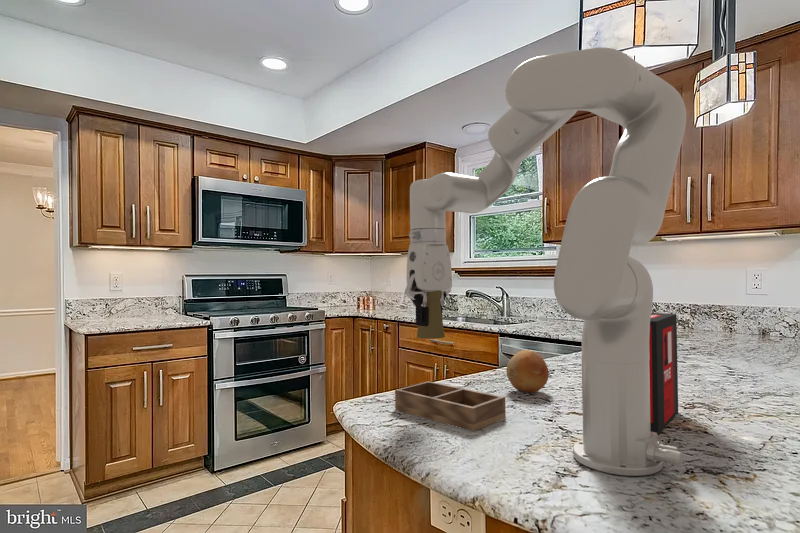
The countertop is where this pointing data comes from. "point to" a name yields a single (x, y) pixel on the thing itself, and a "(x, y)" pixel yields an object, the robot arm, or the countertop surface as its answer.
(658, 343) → the cleaning product box
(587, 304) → the robot arm
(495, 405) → the wooden divided tray
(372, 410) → the countertop surface
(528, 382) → the onion
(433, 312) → the cork
